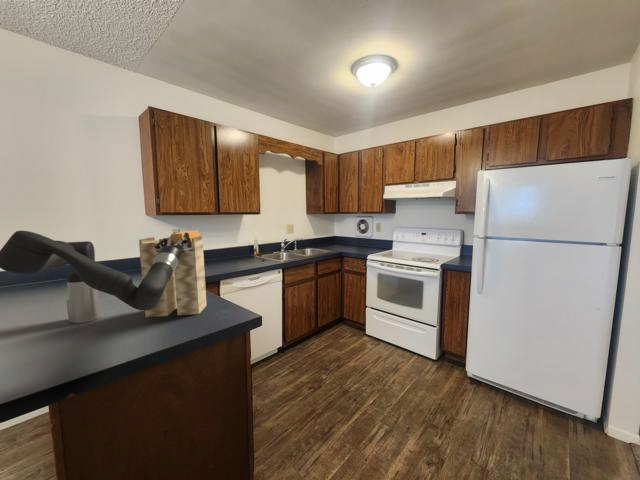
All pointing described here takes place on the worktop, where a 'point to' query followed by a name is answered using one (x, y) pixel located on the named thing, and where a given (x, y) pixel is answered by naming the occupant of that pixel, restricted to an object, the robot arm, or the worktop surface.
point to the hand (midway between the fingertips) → (181, 234)
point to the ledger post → (191, 280)
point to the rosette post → (169, 295)
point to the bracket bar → (179, 236)
